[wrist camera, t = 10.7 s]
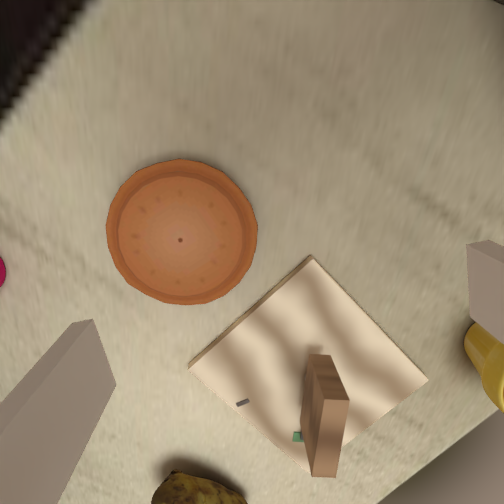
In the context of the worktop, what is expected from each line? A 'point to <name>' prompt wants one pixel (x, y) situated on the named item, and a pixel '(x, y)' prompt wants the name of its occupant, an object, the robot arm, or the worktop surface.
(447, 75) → the worktop surface
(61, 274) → the worktop surface
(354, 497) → the worktop surface
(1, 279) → the pepper mill
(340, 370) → the plate
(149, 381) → the worktop surface
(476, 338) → the plant pot
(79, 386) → the robot arm
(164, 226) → the pie
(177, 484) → the potato
